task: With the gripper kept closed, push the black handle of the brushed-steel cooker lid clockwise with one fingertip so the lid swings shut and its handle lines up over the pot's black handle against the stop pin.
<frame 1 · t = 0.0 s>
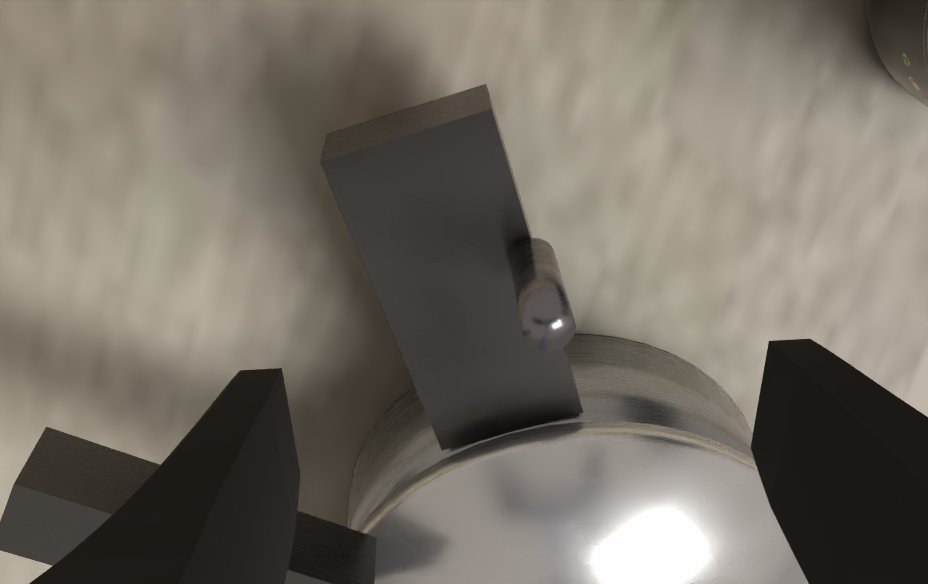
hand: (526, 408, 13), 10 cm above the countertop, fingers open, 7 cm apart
pot: (554, 504, 28), on the countertop
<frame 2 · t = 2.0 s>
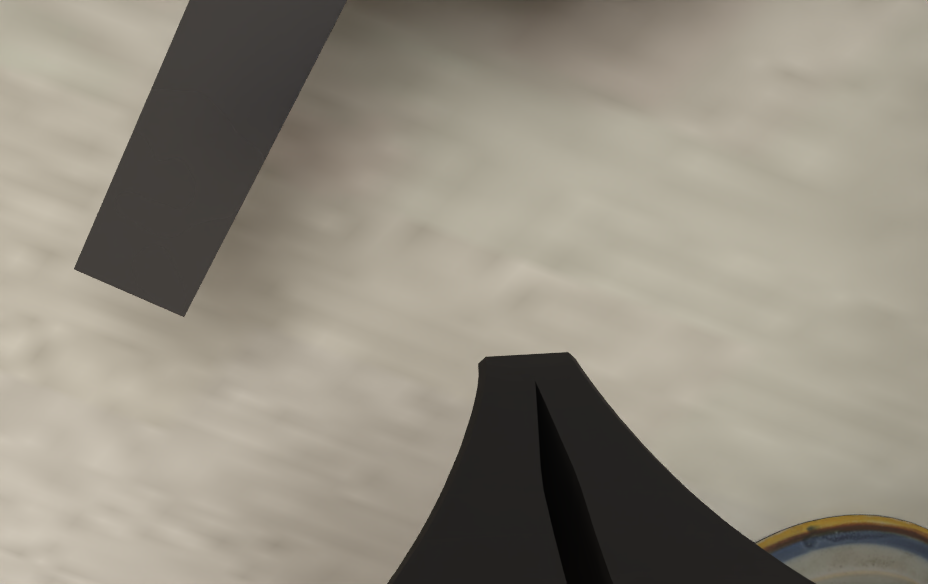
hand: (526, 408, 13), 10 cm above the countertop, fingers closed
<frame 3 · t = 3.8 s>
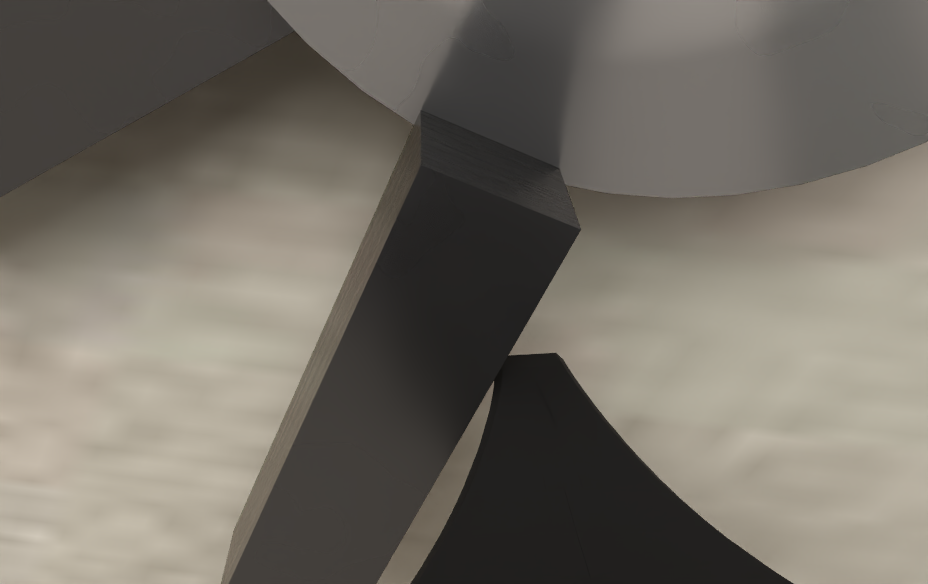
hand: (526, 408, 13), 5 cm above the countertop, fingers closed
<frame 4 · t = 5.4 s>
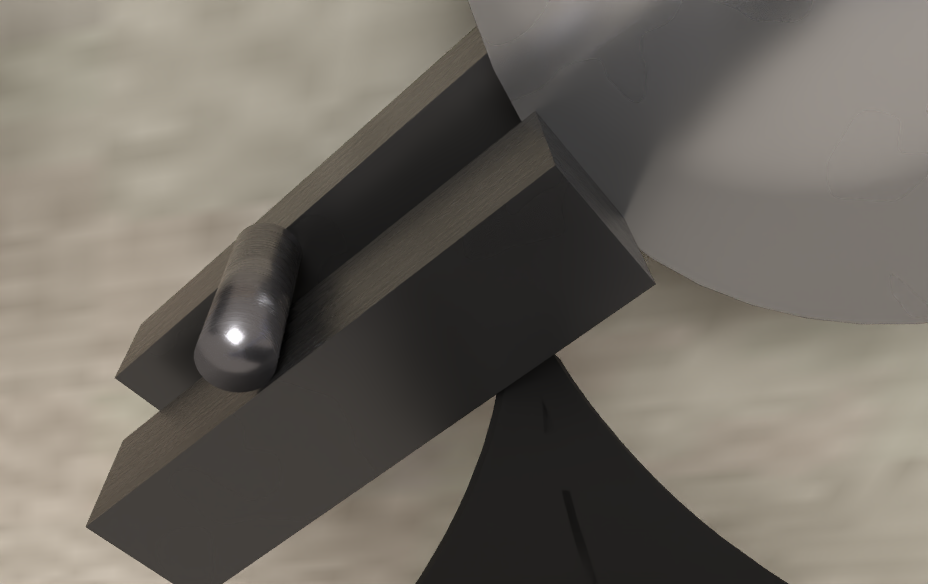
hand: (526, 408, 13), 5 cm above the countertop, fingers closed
lid: (771, 45, 10), point 5 cm above the countertop, hinge at 14.0°, touching gripper, pot
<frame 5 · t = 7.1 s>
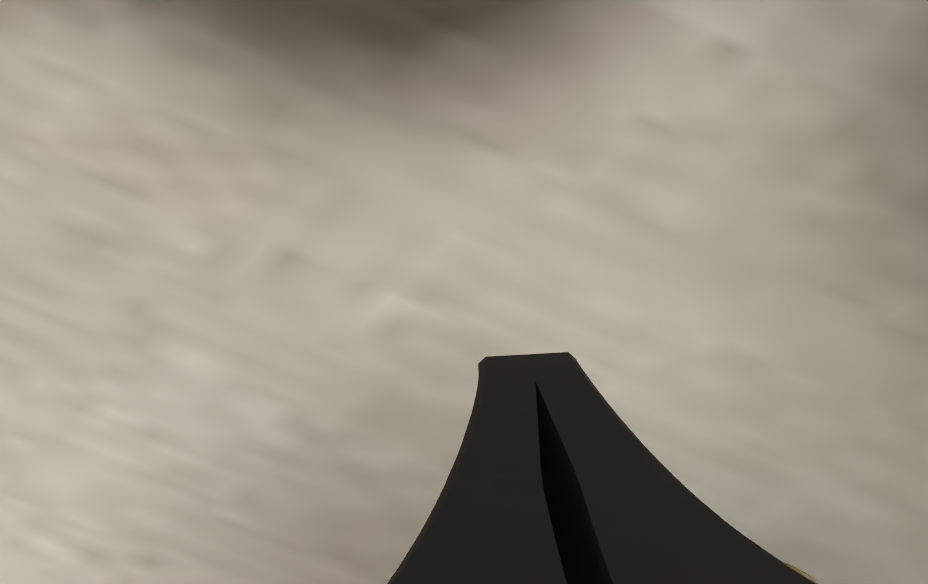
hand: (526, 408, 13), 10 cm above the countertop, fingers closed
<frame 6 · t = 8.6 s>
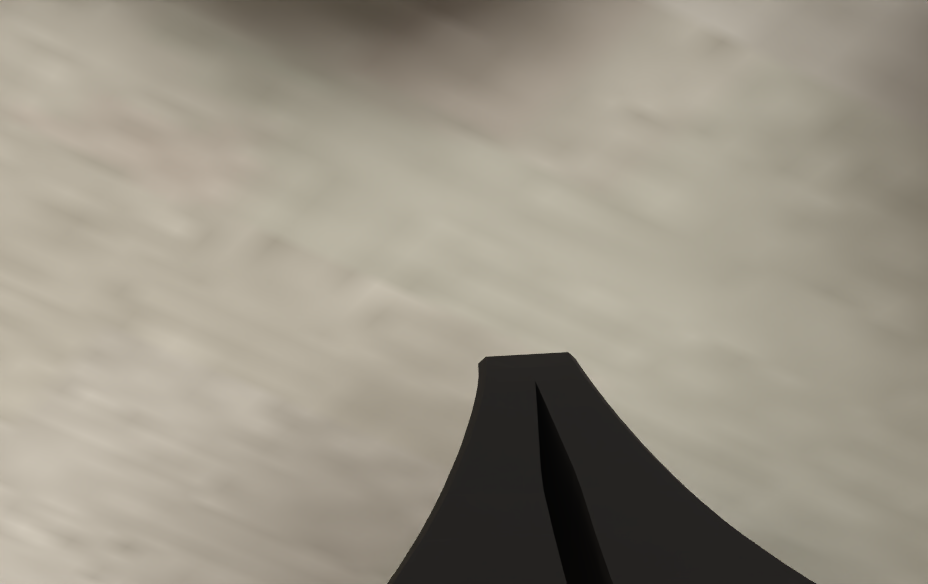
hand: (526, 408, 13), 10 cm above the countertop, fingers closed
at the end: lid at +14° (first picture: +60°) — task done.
